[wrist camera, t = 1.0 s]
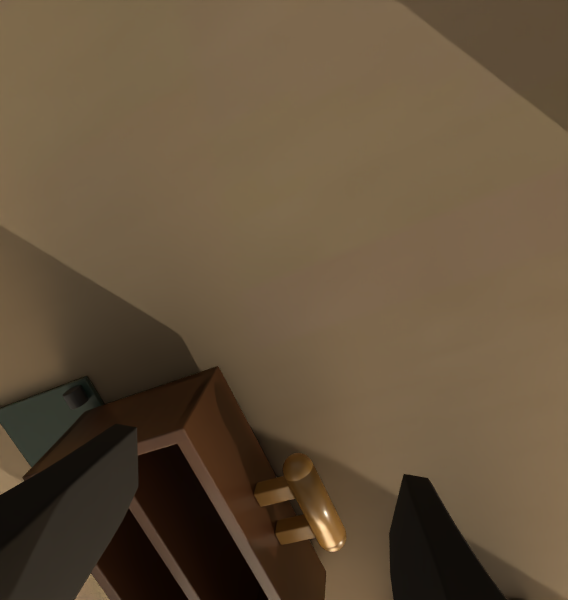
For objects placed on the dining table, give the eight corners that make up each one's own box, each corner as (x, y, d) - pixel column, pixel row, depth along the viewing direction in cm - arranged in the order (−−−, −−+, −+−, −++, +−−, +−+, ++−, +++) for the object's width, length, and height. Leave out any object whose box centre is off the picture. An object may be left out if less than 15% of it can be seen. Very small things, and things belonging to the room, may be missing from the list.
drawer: (172, 688, 23) (385, 660, 20) (21, 477, 20) (254, 406, 17) (202, 595, 28) (378, 562, 25) (84, 410, 24) (276, 345, 21)
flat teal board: (141, 617, 30) (134, 634, 29) (-5, 409, 26) (-20, 420, 25) (227, 602, 29) (222, 619, 28) (87, 375, 24) (75, 386, 23)
